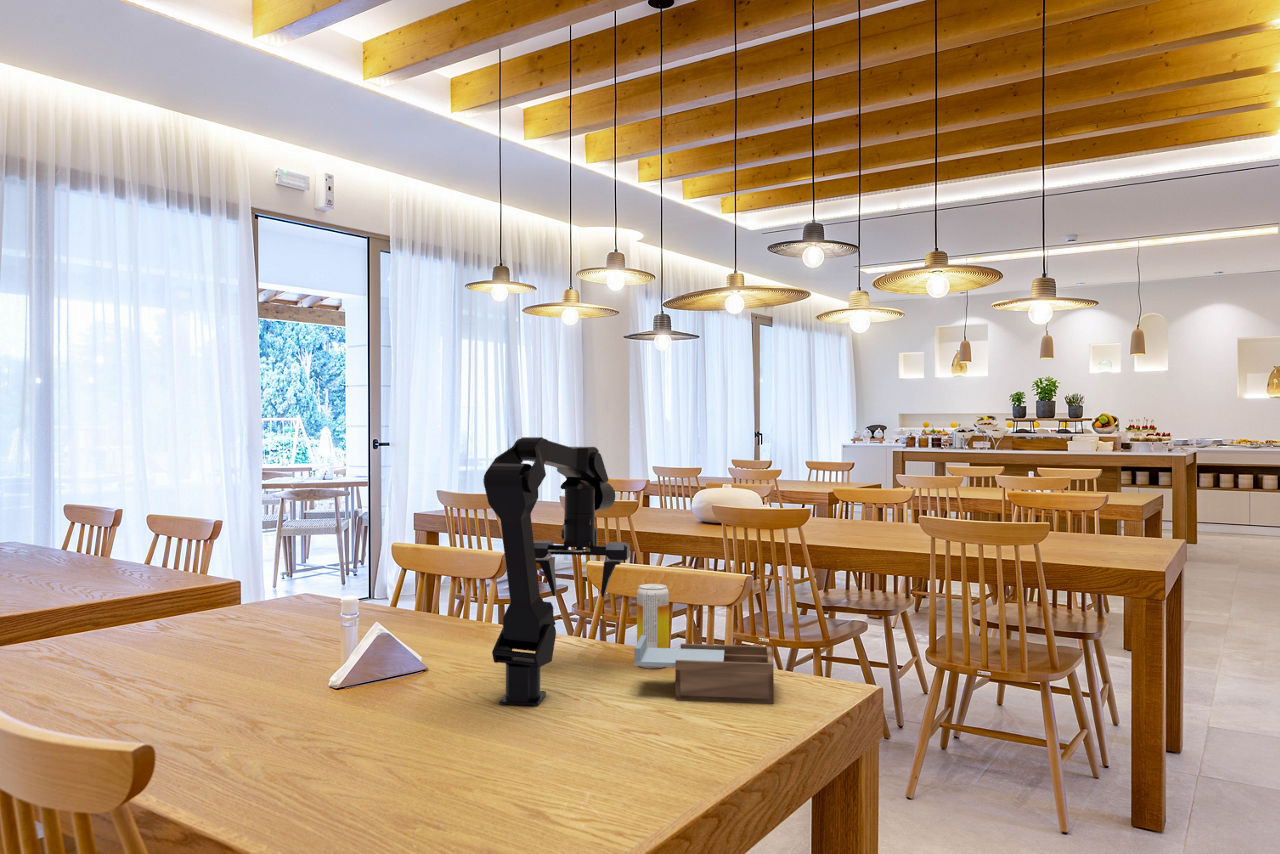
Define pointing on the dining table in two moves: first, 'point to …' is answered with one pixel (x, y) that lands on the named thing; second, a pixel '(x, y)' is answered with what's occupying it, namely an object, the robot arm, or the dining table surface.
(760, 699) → the walnut box
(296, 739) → the dining table surface
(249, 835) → the dining table surface
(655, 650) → the lid
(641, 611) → the beer can
